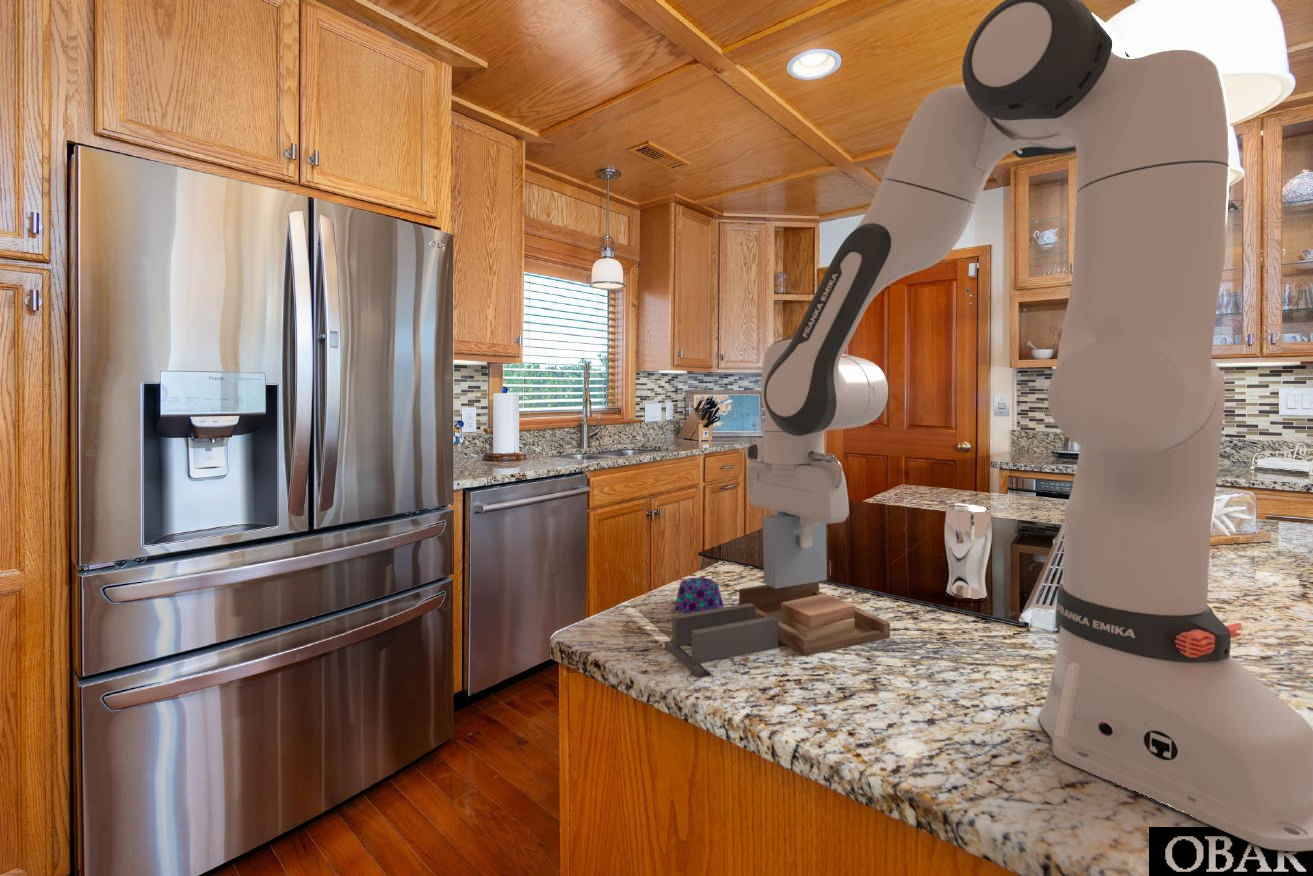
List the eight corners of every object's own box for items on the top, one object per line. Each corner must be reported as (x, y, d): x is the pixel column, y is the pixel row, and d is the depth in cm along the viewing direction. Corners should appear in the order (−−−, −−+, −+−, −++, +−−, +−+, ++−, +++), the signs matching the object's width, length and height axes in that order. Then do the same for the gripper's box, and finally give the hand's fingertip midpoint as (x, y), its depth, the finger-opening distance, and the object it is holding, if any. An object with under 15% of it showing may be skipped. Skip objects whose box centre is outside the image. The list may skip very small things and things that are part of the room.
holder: (788, 658, 80) (788, 622, 80) (698, 678, 75) (697, 639, 75) (747, 631, 89) (747, 599, 89) (664, 647, 84) (664, 612, 84)
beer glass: (1000, 600, 101) (1002, 509, 100) (968, 605, 99) (970, 512, 98) (964, 587, 108) (966, 502, 107) (934, 593, 105) (935, 505, 104)
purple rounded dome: (645, 620, 95) (645, 586, 95) (684, 598, 105) (684, 567, 105) (716, 635, 89) (715, 599, 89) (750, 610, 99) (750, 578, 99)
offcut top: (854, 618, 86) (854, 605, 86) (810, 629, 83) (810, 615, 82) (823, 605, 92) (823, 593, 92) (780, 615, 88) (780, 602, 88)
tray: (889, 644, 84) (890, 608, 84) (804, 663, 79) (804, 624, 78) (815, 608, 99) (815, 577, 98) (739, 621, 93) (739, 588, 93)
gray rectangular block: (826, 580, 92) (825, 513, 92) (775, 588, 89) (774, 519, 88) (814, 575, 95) (813, 510, 94) (763, 583, 92) (762, 515, 91)
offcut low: (854, 632, 86) (854, 619, 86) (806, 641, 83) (806, 628, 83) (826, 618, 92) (826, 606, 91) (780, 626, 88) (780, 614, 88)
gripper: (859, 453, 83) (860, 556, 83) (772, 445, 101) (774, 529, 102) (820, 456, 80) (822, 562, 81) (739, 447, 99) (741, 534, 100)
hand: (794, 543), depth 92 cm, fingers closed on gray rectangular block, 3 cm apart
